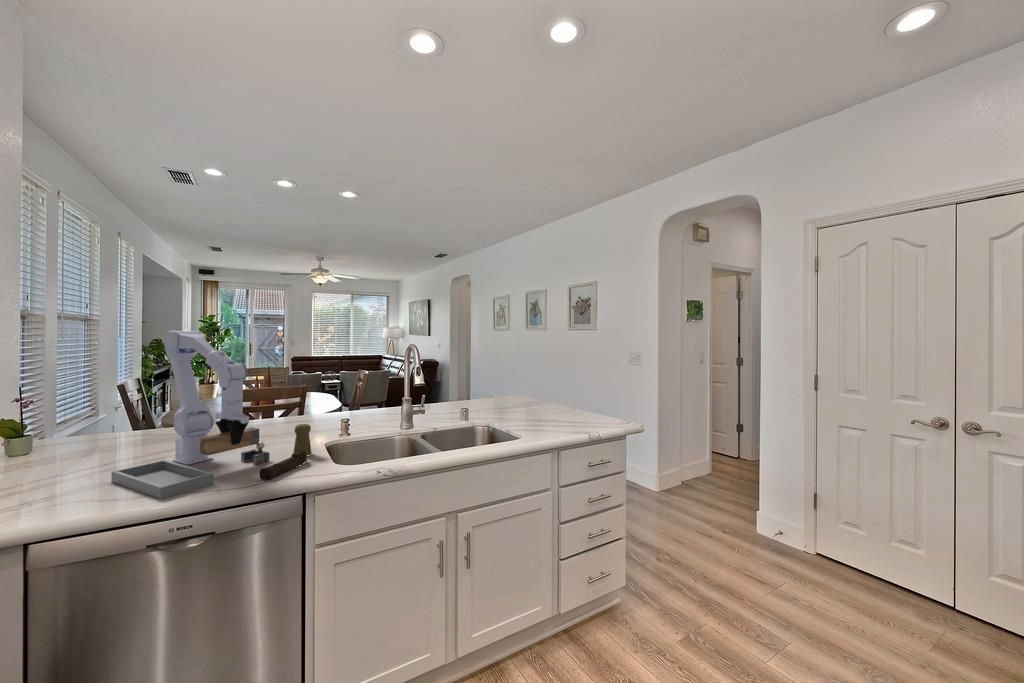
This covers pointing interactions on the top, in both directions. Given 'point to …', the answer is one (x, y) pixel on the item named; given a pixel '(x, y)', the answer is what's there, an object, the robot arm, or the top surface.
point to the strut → (227, 441)
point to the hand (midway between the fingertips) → (231, 443)
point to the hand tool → (283, 465)
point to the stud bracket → (256, 454)
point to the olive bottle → (302, 439)
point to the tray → (162, 478)
